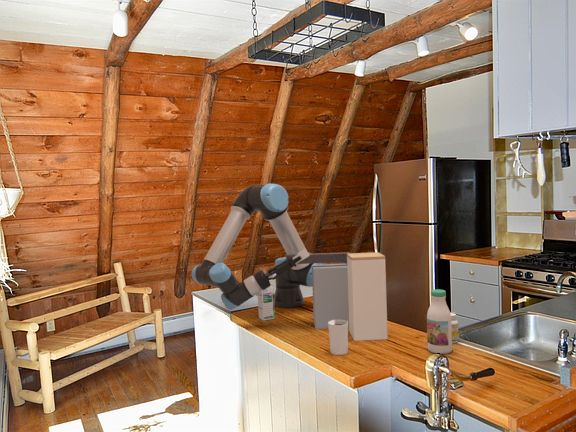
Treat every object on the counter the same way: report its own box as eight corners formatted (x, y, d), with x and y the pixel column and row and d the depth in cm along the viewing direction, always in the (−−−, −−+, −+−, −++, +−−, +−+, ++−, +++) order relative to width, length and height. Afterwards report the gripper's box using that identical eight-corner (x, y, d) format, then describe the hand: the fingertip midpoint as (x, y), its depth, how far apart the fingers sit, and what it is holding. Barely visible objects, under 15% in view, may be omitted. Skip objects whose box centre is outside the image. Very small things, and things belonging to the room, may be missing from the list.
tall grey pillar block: (313, 322, 187) (311, 264, 186) (347, 321, 187) (345, 263, 186) (315, 329, 178) (313, 268, 177) (351, 327, 178) (349, 267, 177)
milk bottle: (434, 344, 155) (433, 287, 154) (456, 349, 149) (455, 289, 148) (423, 351, 149) (421, 291, 148) (445, 356, 144) (443, 294, 143)
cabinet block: (349, 331, 173) (346, 253, 172) (380, 330, 173) (378, 252, 172) (354, 340, 162) (351, 257, 161) (387, 339, 162) (385, 256, 161)
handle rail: (286, 263, 182) (285, 254, 182) (350, 260, 183) (349, 252, 183) (286, 264, 179) (285, 255, 179) (351, 262, 180) (351, 253, 179)
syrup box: (263, 321, 192) (261, 287, 191) (258, 317, 197) (257, 284, 197) (275, 319, 194) (274, 285, 194) (270, 316, 200) (269, 283, 199)
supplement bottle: (458, 344, 154) (457, 316, 154) (441, 343, 156) (441, 315, 156) (458, 339, 159) (458, 312, 159) (442, 338, 161) (442, 311, 161)
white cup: (345, 347, 155) (344, 319, 155) (351, 354, 149) (350, 324, 148) (326, 349, 154) (325, 320, 154) (332, 356, 148) (331, 326, 147)
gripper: (263, 286, 189) (311, 257, 189) (262, 295, 173) (314, 262, 173) (253, 271, 189) (301, 241, 189) (251, 278, 172) (304, 246, 172)
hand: (307, 251), depth 181 cm, fingers closed on handle rail, 3 cm apart
